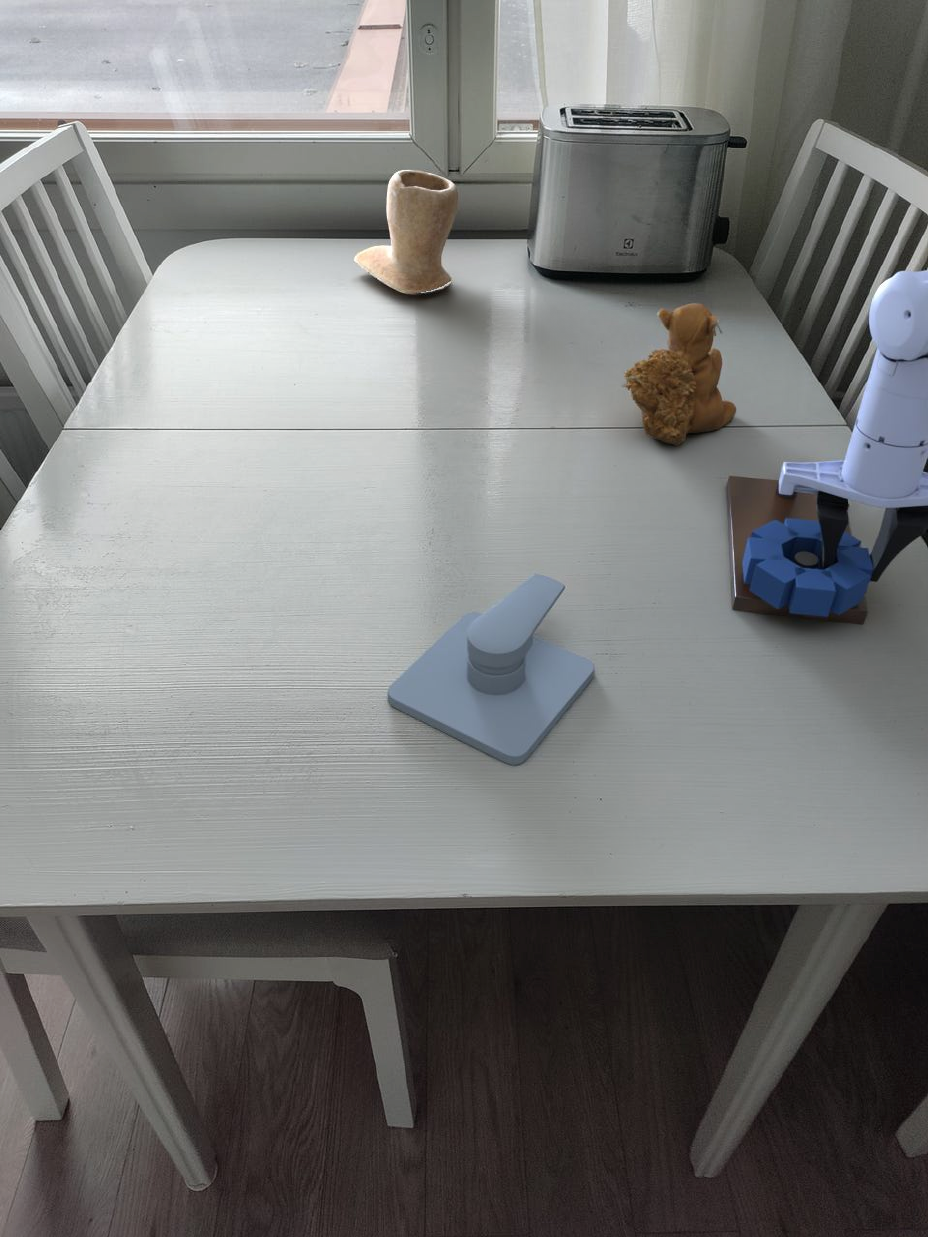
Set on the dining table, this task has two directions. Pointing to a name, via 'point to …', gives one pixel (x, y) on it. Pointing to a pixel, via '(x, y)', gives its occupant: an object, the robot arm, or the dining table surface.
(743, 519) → the peg rack
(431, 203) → the stone cup
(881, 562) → the robot arm
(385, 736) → the dining table surface
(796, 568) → the ring
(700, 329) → the stuffed squirrel
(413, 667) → the shower valve
